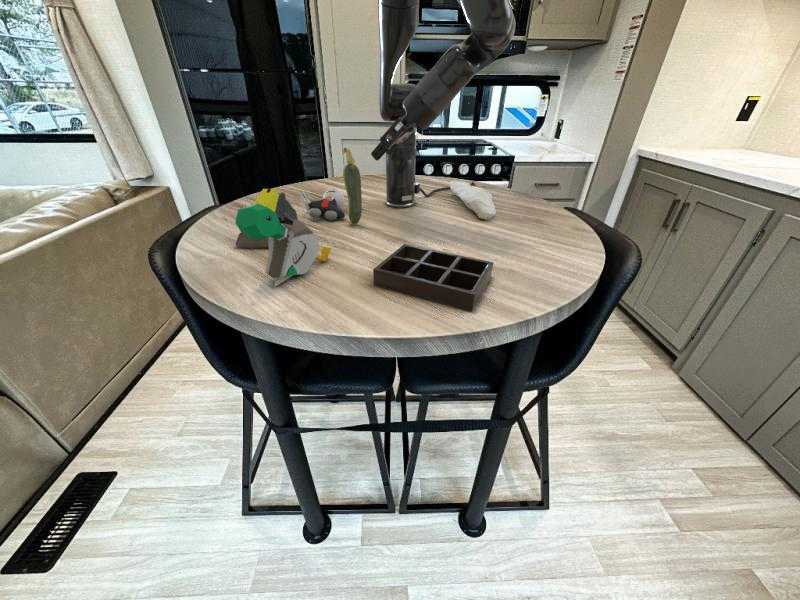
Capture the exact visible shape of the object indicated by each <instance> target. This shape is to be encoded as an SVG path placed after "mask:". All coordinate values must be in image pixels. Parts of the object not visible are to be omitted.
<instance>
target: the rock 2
mask: <svg viewBox="0 0 800 600" xmlns="http://www.w3.org/2000/svg"><path fill="white" fill-rule="evenodd" d="M449 187H450V189H449V190H451V191H452V192H453V194H454V195H455V196H457V197H459V198H460V199H461V201H463V203H464V205H465V206H466V207H467V208H468V209H469V210H471V211H473V212H474V213H475V214H476V215H477V217H478V218H479V219H482V220H491V218H493V217H494V216H496V215H497V211H496V206H495V204H494V203H493V194H492V193H490V192H488V190H486V189H484V188H482V187H477V186H474V185H472V186H470V183H468V182H465V181H461V180H451V181H450V182H449Z"/></svg>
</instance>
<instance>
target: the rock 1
mask: <svg viewBox="0 0 800 600" xmlns="http://www.w3.org/2000/svg"><path fill="white" fill-rule="evenodd" d="M278 195H279V197H278V201H277V205H276V210H275V214H276V215H277V217H284V216H285V217H287V218H288V219H290V220H295V219H297V220H299V218H298V214H297V210H296V209H295V208H294V207H293V206H292V204H291V203H290V202H289V201H288V199H287V197H286V194H285V192H284V191H283V192H282V191H281V192H278ZM281 224H282V223H281ZM235 246H236V247H237V248H239V249H269V238H268V237H267V238H264V239H260V240H256V239H253V238H250V237H248V236H247V235H245V234H243V233H241V232H239V234H238V235H237V238H236V241H235Z"/></svg>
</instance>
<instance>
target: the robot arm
mask: <svg viewBox="0 0 800 600" xmlns="http://www.w3.org/2000/svg"><path fill="white" fill-rule="evenodd" d="M456 1H457V2H458V4H459V5H460V8H461V10H462V14H463V15H464V18H465V20H466V22H467V26H468V27H469V29H470V32H471V33H470V34H469V35H468V36H467V37H466V38H465V39H464V40H463V41H462V42H461V43H456V44H452V45H451V46H450V47H449V48H448V49H447V50H446V52H444V53H443V55H442V56H441V57H440V58H439V60H438V61H437V62H436V63H435V64H434V66H433V67H431V69H430V70H429V71H427V73H426V74H424V76H423V77H421V79H420V80H419V81H418V82H417V84H414V83H393V79H394V75H395V71H396V69H397V67H398V65H399V63H400V62H401V59H402V57H403V56H404V54H405V52H406V51H407V49H408V48H409V46H410V44H411V42H412V40H413V39H414V37H415V35H416V32H417V29H418V25H419V12H420V11H419V9H420V0H377V15H378V17H377V18H378V37H379V38H378V39H379V96H378V97H379V101H378V102H379V104H378V105H379V113H380V117H381V120H382V121H384V122H389V123H390V122H391V123H392V124H391V125H390V126H389V128H387V130H386V131H385V133H384V134H383V135H382V136H380V137H379V141H380V142H379V143H378V144H377V145H376V146H375V148H374V149H372V151H371V153H370V156H371V157H372V158H373V159H374V161H377V162H378V161H380V159H381V158H382V157H383V156H384V155H385V181H386V183H385V184H386V187H385V189H386V202H385V203H386V205H387V206H389V207H391V208H398V209H403V208H404V209H405V208H410V207H413V206H414V205H415V204H416V203H415V202H416V200H415V198H416V197H415V196H416V195H417V194H419V193H422V195H423V196H424V197H426V198H429V197H432V195H433V194H434V193H435V192H441V191H445V190H447V191H448V190H451V189H450V186H447V187H440V188H436V189H433V190H431V191H430V193H428V194H427V193H426V192H425V191H424V190H423V188H420V187H421V183H420V182H419V183H418V182H416V156H417V154H416V153H417V147H416V146H417V127H418V128H420V129H422V130H427V129H428V128H429V127H430V126H431V125H432V124H433V122H435V120H437V118H438V117H439V116H440V115H441V114H442V113H443V112H444V111H445V110H446V109H447V108H448V106H450V104H451V103H452V101H454V99H455V98H456V96H457V95H458V94H459V93H460V92H461V91H462V90H463V89H464V88H465V87H466V85H468V84H469V82H470V81H471V80H472V78H474V77H475V76H476V75H477V74H478V73H480V72H481V71H482V70H483V69H485V68H486V67H487V66H489V65H490V64H491V63H492V62H493V61H494V60H496V59H497V58H498V57H499V56H500V55H501V54H502V53H503V52H504V51H505V50H506V49H507V47H508V46H509V45H510V43H511V42H512V40H513V38H514V35H515V32H516V24H517V23H516V18H515V15H514V12H513V9H512V6H511V4H510V2H509V0H456ZM469 185H470V186H475V185H476V184H475V182H474V181H471V183H469Z"/></svg>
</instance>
